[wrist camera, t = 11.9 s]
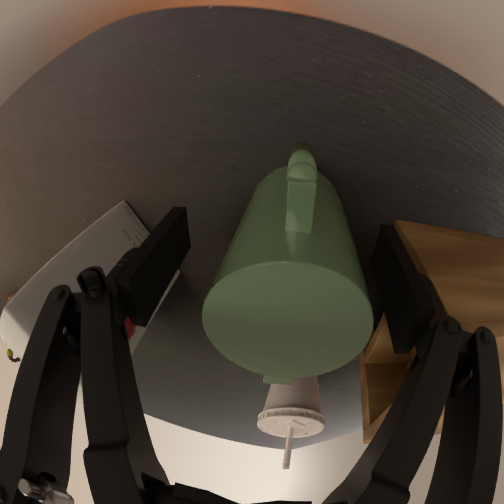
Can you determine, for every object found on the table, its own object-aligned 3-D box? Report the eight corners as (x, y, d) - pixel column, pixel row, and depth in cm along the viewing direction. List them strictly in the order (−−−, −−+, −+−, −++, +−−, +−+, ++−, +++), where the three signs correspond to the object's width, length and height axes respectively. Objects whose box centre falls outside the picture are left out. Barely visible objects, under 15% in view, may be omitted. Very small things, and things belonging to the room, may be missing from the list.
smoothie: (330, 334, 27) (329, 463, 15) (320, 367, 30) (315, 475, 18) (269, 330, 28) (246, 458, 16) (268, 364, 31) (249, 471, 19)
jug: (252, 129, 17) (183, 180, 7) (350, 138, 16) (419, 203, 6) (250, 255, 23) (212, 379, 13) (331, 263, 22) (341, 393, 12)
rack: (395, 219, 19) (459, 340, 9) (506, 239, 17) (571, 325, 7) (355, 338, 26) (362, 444, 16) (455, 338, 25) (481, 422, 14)
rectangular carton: (184, 271, 25) (109, 410, 13) (132, 298, 29) (66, 403, 16) (125, 196, 22) (0, 307, 9) (82, 238, 25) (-8, 331, 13)
